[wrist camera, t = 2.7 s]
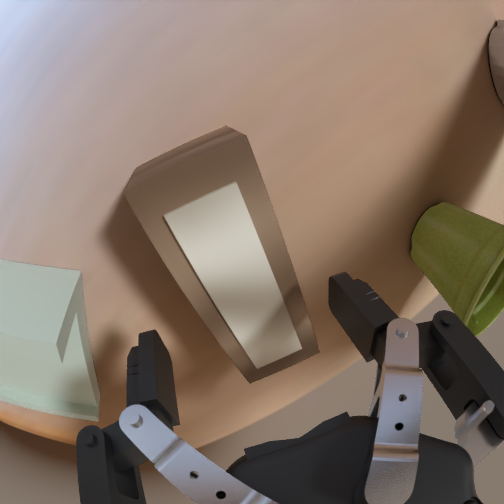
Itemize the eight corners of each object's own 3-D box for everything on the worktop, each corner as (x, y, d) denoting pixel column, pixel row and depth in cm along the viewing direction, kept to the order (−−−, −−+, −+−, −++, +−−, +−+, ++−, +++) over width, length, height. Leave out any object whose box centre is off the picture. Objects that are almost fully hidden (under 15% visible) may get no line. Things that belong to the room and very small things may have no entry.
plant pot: (473, 208, 22) (538, 252, 14) (427, 287, 25) (481, 342, 18) (433, 161, 18) (525, 208, 10) (374, 265, 21) (446, 339, 14)
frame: (136, 166, 13) (122, 194, 10) (225, 125, 14) (247, 136, 10) (234, 336, 21) (250, 385, 17) (295, 309, 21) (320, 353, 18)
